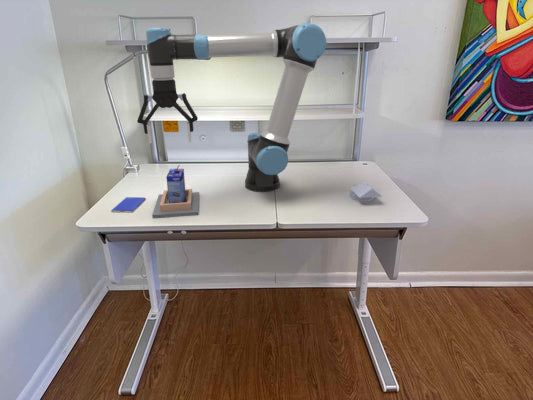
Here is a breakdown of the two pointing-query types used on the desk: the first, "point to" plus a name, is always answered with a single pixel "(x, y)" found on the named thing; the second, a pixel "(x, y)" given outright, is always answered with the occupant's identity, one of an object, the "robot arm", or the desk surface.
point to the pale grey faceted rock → (363, 192)
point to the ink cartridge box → (176, 186)
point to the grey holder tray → (177, 205)
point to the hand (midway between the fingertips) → (170, 141)
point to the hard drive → (129, 204)
